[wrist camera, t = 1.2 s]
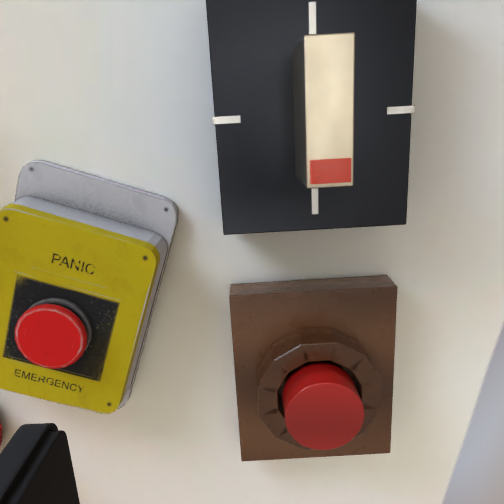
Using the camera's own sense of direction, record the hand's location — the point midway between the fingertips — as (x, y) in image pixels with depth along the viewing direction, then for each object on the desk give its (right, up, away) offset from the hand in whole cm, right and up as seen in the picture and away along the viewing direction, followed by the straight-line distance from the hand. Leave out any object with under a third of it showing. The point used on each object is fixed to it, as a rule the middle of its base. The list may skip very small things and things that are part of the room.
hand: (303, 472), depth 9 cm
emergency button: (-12, +2, +20) cm, 23 cm away
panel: (+2, +12, +17) cm, 21 cm away
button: (+3, -4, +18) cm, 18 cm away
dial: (+2, +11, +14) cm, 18 cm away
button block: (+3, -3, +21) cm, 22 cm away
